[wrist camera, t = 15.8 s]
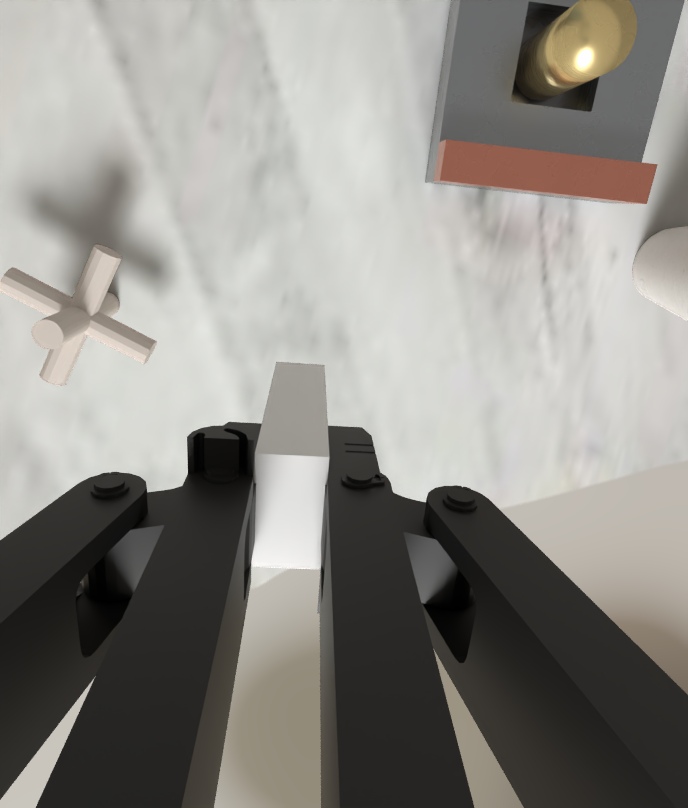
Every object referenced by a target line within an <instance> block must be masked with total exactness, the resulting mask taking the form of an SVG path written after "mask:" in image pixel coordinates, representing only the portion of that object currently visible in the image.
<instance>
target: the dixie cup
mask: <svg viewBox="0 0 688 808" xmlns="http://www.w3.org/2000/svg"><path fill="white" fill-rule="evenodd" d="M632 275H633V281H634V284H635V286H636V288H637V290H638V291H639V292H640V293H641V294H642V295H643V296H644V297H646V298H647V299H649V300H651V301H653V302H654V303H656V304H658V305H660V306H662V307H663V308H665V309H667V310H669V311H670V312H672V313H674V314H676V315H677V316H679V317H681V318H683V319H684V320H686V321H688V226H685V227H676V228H669V229H665V230H662V231H660V232H658V233H656V234H654V235H652V236H651V237H650V238H649V239H648V240H646V242H645V243H644V244H643V245H642V246H641V248H640V249H639V251H638V253H637V255H636V257H635V260H634V263H633V269H632Z"/></svg>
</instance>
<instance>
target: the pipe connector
mask: <svg viewBox="0 0 688 808" xmlns="http://www.w3.org/2000/svg"><path fill="white" fill-rule="evenodd" d="M121 259H122V256H121V255H120V254H118V253H117V252H115V251H114V250H112V249H110V248H108V247H105V246H102V245H99V244H95V245H94V247H93V249H92V252H91V254H90V256H89V259H88V261H87V263H86V266H85V268H84V271H83V273H82V275H81V278H80V280H79V282H78V285H77V287H76V289H75V292H74V294H73V297H70V296H68V295H66V294H64V293H62V292H60V291H58V290H56V289H54V288H53V287H51V286H49V285H47V284H45V283H43V282H41V281H39V280H37V279H35V278H33V277H31V276H29V275H27V274H26V273H24V272H22V271H20V270H18V269H16V268H13V267H12V268H11V269H9V270H8V271H7V272H6V273H5V274H4V276H3V278H2V280H1V282H0V291H1V292H3V293H5V294H7V295H9V296H11V297H13V298H15V299H17V300H18V301H20V302H22V303H24V304H26V305H28V306H30V307H32V308H34V309H36V310H38V311H40V312H42V313H44V314H46V315H48V317H46V318H44V319H42V320H40V321H37V322H36V323H35V324H34V325H33V327H32V337H33V339H34V341H35V342H36V343H37V344H38V345H39V346H40V347H42V348H44V349H49V350H50V351H49V353H48V356H47V358H46V360H45V363H44V365H43V367H42V370H41V372H40V377H41V378H42V379H43V380H44V381H46V382H48V383H50V384H53V385H60V386H62V385H66V383H67V381H68V379H69V376H70V374H71V372H72V370H73V367H74V365H75V363H76V361H77V358H78V356H79V354H80V352H81V349H82V347H83V345H84V342H85V340H86V338H87V336H90V337H92V338H94V339H96V340H97V341H99V342H101V343H103V344H105V345H107V346H109V347H111V348H113V349H115V350H117V351H119V352H121V353H123V354H125V355H127V356H129V357H131V358H133V359H135V360H137V361H139V362H141V363H143V364H145V363H146V362H147V361H148V359H149V357H150V356H151V354H152V352H153V350H154V348H155V346H156V343H157V341H155V340H153V339H151V338H149V337H147V336H145V335H143V334H141V333H139V332H137V331H135V330H134V329H132V328H130V327H128V326H126V325H124V324H122V323H120V322H118V321H116V320H114V319H112V318H110V317H111V316H112V315H114V314H115V313H117V311H118V310H119V301H118V299H117V297H116V296H115V295H113V294H112V293H110V292H107V290H108V288H109V286H110V284H111V281H112V279H113V277H114V275H115V272H116V270H117V268H118V266H119V263H120V261H121Z"/></svg>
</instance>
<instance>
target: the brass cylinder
mask: <svg viewBox="0 0 688 808" xmlns="http://www.w3.org/2000/svg"><path fill="white" fill-rule="evenodd" d="M636 33H637V18H636V14H635V10H634V8H633V6H632V4H631V2H630V1H629V0H579V1H578V2H577V3H576V4H574V5H573V6H572V7H570V8H569V9H568V10H567V11H565V12H564V13H563V14H561V15H560V16H559V17H558V18H556V19H555V20H554V21H552V22H551V23H550V24H549V25H547V26H546V27H545V28H543V29H542V30H541V31H540V32H538V33H537V34H536V35H534V36H533V37H532V38H531V39H529V40H528V41H527V42H526V43H525V44H524V45H523V46H522V48H521V49H520V52H519V58H518V63H517V69H516V74H515V80H516V83H517V86H518V88H519V89H520V91H521V92H522V93H523V94H524V95H525V96H526V97H528V98H530V99H533V100H537V101H543V100H548V99H551V98H553V97H555V96H557V95H559V94H562V93H564V92H566V91H568V90H570V89H573V88H575V87H577V86H579V85H581V84H584V83H586V82H588V81H590V80H592V79H595V78H597V77H599V76H601V75H603V74H606V73H608V72H610V71H612V70H614V69H615V68H616V67H618V66H619V65H620V64H621V63H622V62H623V61H624V60H625V59H626V57H627V56H628V54H629V53H630V51H631V49H632V47H633V45H634V41H635V38H636Z"/></svg>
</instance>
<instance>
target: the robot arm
mask: <svg viewBox="0 0 688 808" xmlns="http://www.w3.org/2000/svg"><path fill="white" fill-rule="evenodd" d="M187 447H188V475H187V477H186V479H185V482H184V484H183V486H181V487H178V488H175V489H170V490H164V491H157V492H148V493H147V487H146V481H144V480H143V479H142V478H141V477H139V476H136V475H133V474H129V473H120V472H111V473H102V474H100V475H98V476H94V477H90V478H88V479H86V480H84V481H82V482H80V483H79V484H77V485H76V486H74V487H73V488H72V489H70V490H69V491H68V492H66V493H65V494H63V495H62V496H61V497H59V498H58V499H57V500H55V501H54V502H52V503H51V504H50V505H48V506H47V507H46V508H44V509H43V510H41V511H40V512H39V513H37V514H36V515H35V516H33V517H32V518H30V519H29V520H28V521H26V522H25V523H24V524H22V525H21V526H19V527H18V528H17V529H15V530H14V531H13V532H11V533H10V534H8V535H7V536H6V537H4V538H3V539H2V540H0V799H1V798H2V797H3V795H4V794H5V793H6V792H7V790H8V789H9V788H10V786H11V785H12V784H13V783H14V781H15V780H16V779H17V777H18V776H19V775H20V773H21V772H22V771H23V770H24V768H25V767H26V766H27V764H28V763H29V762H30V760H31V759H32V758H33V756H34V755H35V754H36V753H37V751H38V750H39V749H40V747H41V746H42V745H43V744H44V742H45V741H46V739H47V738H48V737H49V736H50V734H51V733H52V732H53V731H54V729H55V728H56V727H57V725H58V724H59V723H60V721H61V720H62V719H63V718H64V716H65V715H66V714H67V712H68V711H69V710H70V708H71V707H72V706H73V705H74V703H75V702H76V701H77V699H78V698H79V697H80V696H81V694H82V693H83V692H84V690H85V689H86V688H87V686H88V685H89V684H90V683H91V681H92V680H93V679H94V677H95V676H96V677H95V679H94V681H93V683H92V686H91V688H90V690H89V692H88V694H87V697H86V699H85V701H84V703H83V705H82V708H81V710H80V712H79V714H78V716H77V718H76V721H75V723H74V725H73V727H72V729H71V732H70V734H69V736H68V738H67V740H66V743H65V745H64V747H63V749H62V751H61V754H60V756H59V758H58V760H57V762H56V765H55V767H54V769H53V771H52V773H51V775H50V778H49V780H48V782H47V784H46V786H45V789H44V791H43V793H42V795H41V797H40V800H39V802H38V804H37V806H36V808H214V803H215V796H216V791H217V784H218V779H219V772H220V766H221V760H222V754H223V748H224V742H225V736H226V730H227V723H228V718H229V711H230V705H231V699H232V693H233V687H234V681H235V675H236V669H237V663H238V656H239V650H240V644H241V638H242V632H243V626H244V620H245V613H246V608H247V602H248V596H249V590H250V583H251V560H252V567H268V568H297V569H321V572H320V586H319V598H318V599H319V600H318V612H317V613H320V702H321V703H320V706H321V707H320V709H321V808H474V805H473V801H472V797H471V793H470V789H469V786H468V781H467V777H466V774H465V770H464V766H463V762H462V758H461V754H460V751H459V746H458V743H457V739H456V735H455V731H454V727H453V723H452V719H451V715H450V712H449V708H448V704H447V700H446V696H445V692H444V688H443V684H442V681H441V677H440V673H439V669H438V665H437V662H436V657H435V654H434V650H435V652H436V653H437V655H438V657H439V659H440V661H441V662H442V664H443V666H444V668H445V669H446V671H447V673H448V675H449V677H450V678H451V680H452V682H453V684H454V685H455V687H456V689H457V691H458V692H459V694H460V696H461V698H462V699H463V701H464V703H465V705H466V706H467V708H468V710H469V712H470V713H471V715H472V717H473V719H474V720H475V722H476V724H477V726H478V728H479V729H480V731H481V733H482V734H483V736H484V738H485V740H486V742H487V743H488V745H489V747H490V749H491V750H492V752H493V754H494V756H495V757H496V759H497V761H498V763H499V764H500V766H501V768H502V770H503V771H504V773H505V775H506V777H507V779H508V780H509V782H510V784H511V785H512V787H513V789H514V791H515V793H516V794H517V796H518V798H519V800H520V801H521V803H522V805H523V807H524V808H688V695H687V694H686V693H685V692H684V691H683V690H682V689H681V688H680V687H679V686H678V685H677V684H676V683H675V682H674V681H673V680H672V679H671V678H670V677H669V676H668V675H667V674H666V673H665V672H664V671H663V670H662V669H661V668H660V667H659V666H658V665H657V664H656V663H655V662H654V661H653V660H652V659H651V658H650V657H649V656H648V655H647V654H646V653H645V652H644V651H643V650H642V649H641V648H640V647H639V646H638V645H636V644H635V643H634V642H633V641H632V640H631V639H630V638H629V637H628V636H627V635H626V634H625V633H624V632H623V631H622V630H621V629H620V628H619V627H618V626H617V625H616V624H615V623H614V622H613V621H612V620H611V619H610V618H609V617H608V616H607V615H606V614H605V613H604V612H603V611H602V610H601V609H600V608H599V607H598V606H597V605H595V603H593V601H592V600H591V599H590V598H589V597H588V596H586V594H585V593H584V592H583V591H582V590H580V588H578V586H576V585H575V584H574V583H573V582H572V581H571V580H570V579H569V578H568V577H567V576H566V575H565V574H564V573H563V572H562V571H561V570H560V569H559V568H558V567H557V566H556V565H555V564H554V563H553V562H552V561H551V560H550V559H549V558H548V557H547V556H546V555H545V554H544V553H543V552H542V551H541V550H540V549H539V548H538V547H537V546H536V545H535V544H534V543H533V542H532V541H531V540H530V539H528V537H527V536H526V535H525V534H524V533H523V532H522V531H520V529H518V528H517V527H516V526H515V525H514V524H513V523H512V522H511V521H510V520H509V519H508V518H507V517H506V516H505V515H504V514H503V513H502V512H501V511H500V510H499V509H498V508H497V507H496V506H495V505H494V504H493V503H492V502H491V501H490V500H489V499H488V498H486V497H485V496H483V495H482V494H481V493H478V492H476V491H473V490H471V489H470V488H467V487H462V486H443V487H438V488H435V489H433V490H431V491H430V492H429V493H428V496H427V500H426V503H425V502H420V501H416V500H412V499H408V498H405V497H402V496H399V495H397V494H395V493H393V491H392V487H391V483H390V481H389V480H388V478H387V477H386V476H385V475H383V474H382V473H380V470H379V466H378V462H377V458H376V454H375V449H374V446H373V441H372V436H371V435H370V434H369V433H368V432H366V431H365V430H364V429H363V428H360V427H341V426H328V421H327V403H326V385H325V366H324V365H317V364H301V363H285V362H276V366H275V370H274V375H273V379H272V383H271V387H270V391H269V396H268V400H267V404H266V408H265V412H264V417H263V421H262V424H258V423H239V422H228V423H227V424H225V425H224V426H210V427H205V428H201V429H198V430H196V431H193V432H192V433H191V434H190V435H189V436H188V437H187ZM80 582H81V583H80ZM433 648H434V650H433Z"/></svg>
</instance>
